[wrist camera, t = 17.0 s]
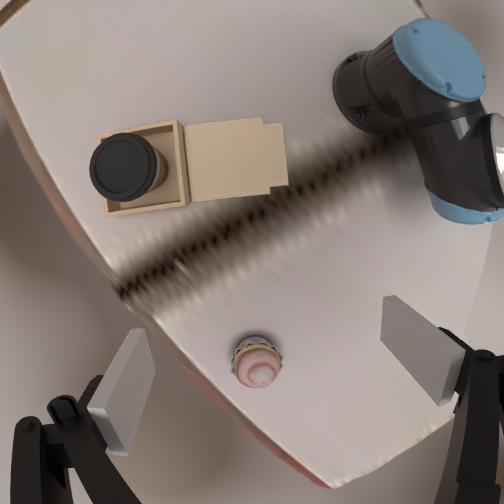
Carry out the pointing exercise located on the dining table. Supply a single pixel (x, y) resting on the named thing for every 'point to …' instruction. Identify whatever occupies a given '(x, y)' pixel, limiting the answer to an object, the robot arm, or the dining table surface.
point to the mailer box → (209, 162)
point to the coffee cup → (127, 167)
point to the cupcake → (256, 362)
